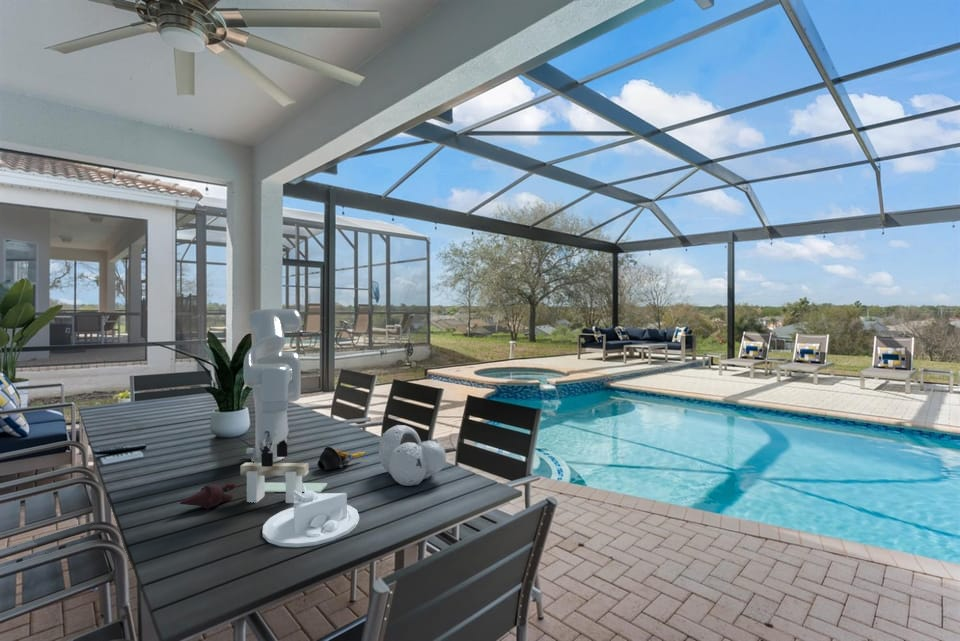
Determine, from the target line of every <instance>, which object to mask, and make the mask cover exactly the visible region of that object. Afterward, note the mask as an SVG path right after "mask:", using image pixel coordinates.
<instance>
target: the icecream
mask: <svg viewBox="0 0 960 641" xmlns="http://www.w3.org/2000/svg"><path fill="white" fill-rule="evenodd" d="M235 488H236V484H235V483H234V482H230V483H227V484H225V485H223V486H219V485H217V484H210V485H207V484H205V485H204V486H203V487H202V488H201V489H200V491H198V492H196V493H194V494H193V495H191V496H189V497H187V498H184V500H182V501H180V502H179V504H180V505H186V506H195V507H196V506H198V507H202V508H203V509H205V508H206V510H210V508H213V507H216V506H218V505H219V504H221V502H229V500H230V501H232V499H233V498H234V497H233V495H232V494H230V493H229V492H231V491H233V490H234V489H235ZM225 493H227V494H225Z"/></svg>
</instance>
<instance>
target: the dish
mask: <svg viewBox="0 0 960 641" xmlns="http://www.w3.org/2000/svg"><path fill="white" fill-rule="evenodd" d="M300 482H301V484H302V486H303V489H304V491H305V492H304V493H302V494H300V493H298V492H297V491H295V490H294V491H293V492H292V494H293V495H294V503H293V507H292V506H291V507H289V508H286V509H284V510H281V511H279V512H278V513H275V514H274V515H273V516H270V517H269V518H268V519H267V520H266V522H264V524H263V525H262V537H263V538H264V540H266V542H268V543H270V544H273V545H276V546H278V547H284V548H285V547H287V548H303V547H304V548H305V547H312V546H313V547H315V546H318V545H321V544H325V543H330V542H333V541H335V540H338V539H340V538H341V537H345V536H346V535H347V534H349V533H350V532H352V531H353V530H354V529H356V527H357V526H358V523H359V521H360V514H359V513H358V512H359V511H358V510H357V509H356V508H354V507H353V506H351V505H350V504H348V493H347V492H338V493H337V492H336V493H335V492H333V493H332V492H329V493H327V492H324V493H323V492H320V493H316V492H314V491H306V488H305V486H304V484H303V483H304V482H303V480H302V481H300ZM356 525H357V526H356Z"/></svg>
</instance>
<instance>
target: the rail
mask: <svg viewBox="0 0 960 641" xmlns="http://www.w3.org/2000/svg"><path fill="white" fill-rule="evenodd" d="M309 466H310V464H309V462H273V466H271V467H262V463H253V462H244V463H243V464H241V465H240V468H239V469H240V476H246V472H247V471H258V476H267V477H268V476H269V477H270V476H271V477H272V476H273V477H274V476H275V477H276V476H277V477H282V476H283V477H285V472H286V471H296V476H302V477H305V476H306V475H308V474H309V471H310V470H309V468H310V467H309Z"/></svg>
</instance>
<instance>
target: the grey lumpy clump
mask: <svg viewBox="0 0 960 641" xmlns="http://www.w3.org/2000/svg"><path fill="white" fill-rule="evenodd" d="M378 446H379V447H378V456H379V462H380V464H381V466H382V467H383V468H384V470H385V471H386V472H388V473H389V474H390V475H391V477H392V478H393V479H394V481H395V482H396V483H398V484H400V485H401V486H407V487H408V486H409V487H410V486H417V485H419V484H420V483H422V482H423V480H425V479H428V478H430V476H431V475H434V474H436V473H439V472H441V470H443V468H444V467H445V465H446V460H447V454H446V449H445V448H444V447H443V446H442V445H441V444H440V443H438V442H437V441H433V440H430V439H428V441H423V442H422V440H421V438H420V436H419V434H418V432H417V431H416V429H414V428H413V427H411V426H408V425H404V424H403V425H402V424H396V425H393V426H392V427H390V428H388V429H387V430H386V431H385V432H384V433H383V434H382V436H381V437H380V441H379V443H378Z"/></svg>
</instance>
